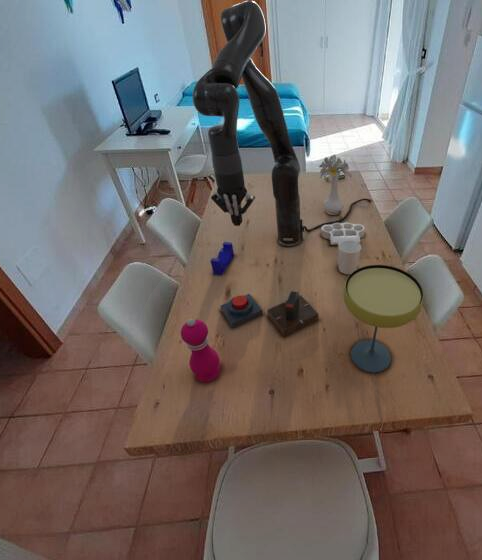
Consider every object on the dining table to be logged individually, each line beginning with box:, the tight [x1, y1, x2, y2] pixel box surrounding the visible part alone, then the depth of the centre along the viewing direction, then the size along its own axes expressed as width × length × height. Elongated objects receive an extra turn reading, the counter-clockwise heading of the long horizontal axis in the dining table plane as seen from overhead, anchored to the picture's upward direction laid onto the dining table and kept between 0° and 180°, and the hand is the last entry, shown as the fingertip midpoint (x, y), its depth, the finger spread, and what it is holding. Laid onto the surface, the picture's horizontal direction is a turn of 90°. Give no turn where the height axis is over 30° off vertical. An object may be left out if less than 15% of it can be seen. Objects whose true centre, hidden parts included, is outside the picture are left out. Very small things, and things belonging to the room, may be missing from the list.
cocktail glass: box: [342, 264, 425, 374], centre depth 83 cm, size 18×18×25 cm
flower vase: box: [318, 154, 351, 216], centre depth 145 cm, size 13×18×25 cm
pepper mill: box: [180, 317, 221, 383], centre depth 80 cm, size 7×7×20 cm
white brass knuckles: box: [320, 222, 366, 246], centre depth 136 cm, size 3×18×15 cm
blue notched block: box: [210, 241, 235, 276], centre depth 120 cm, size 12×4×6 cm, turn 169°
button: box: [232, 295, 248, 309], centre depth 100 cm, size 4×4×2 cm
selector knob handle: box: [285, 290, 300, 320], centre depth 98 cm, size 7×2×5 cm, turn 169°
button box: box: [219, 293, 264, 329], centre depth 102 cm, size 10×9×4 cm
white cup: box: [337, 240, 362, 275], centre depth 117 cm, size 8×8×10 cm
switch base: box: [266, 294, 319, 338], centre depth 100 cm, size 12×11×3 cm
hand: (237, 224), depth 99 cm, fingers closed
